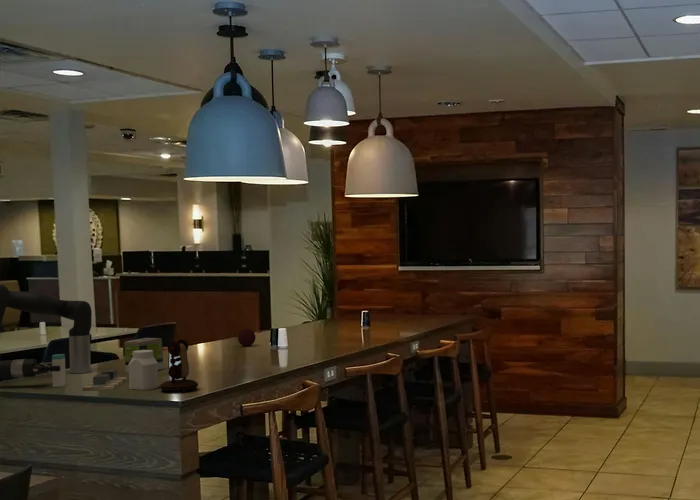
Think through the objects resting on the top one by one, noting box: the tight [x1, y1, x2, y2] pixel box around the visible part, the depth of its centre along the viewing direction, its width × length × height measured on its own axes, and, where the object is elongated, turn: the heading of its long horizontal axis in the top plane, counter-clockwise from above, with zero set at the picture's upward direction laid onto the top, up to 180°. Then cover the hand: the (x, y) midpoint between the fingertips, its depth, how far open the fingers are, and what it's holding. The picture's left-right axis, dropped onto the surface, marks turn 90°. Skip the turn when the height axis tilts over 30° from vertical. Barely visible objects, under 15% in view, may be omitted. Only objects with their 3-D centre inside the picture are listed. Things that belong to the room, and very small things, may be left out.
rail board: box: [82, 376, 128, 392], centre depth 365 cm, size 26×12×1 cm, turn 1°
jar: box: [128, 350, 159, 391], centre depth 355 cm, size 12×10×15 cm
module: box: [51, 353, 67, 388], centre depth 366 cm, size 4×4×13 cm
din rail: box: [92, 368, 120, 387], centre depth 365 cm, size 25×5×4 cm, turn 1°
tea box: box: [123, 337, 164, 374], centre depth 403 cm, size 15×10×15 cm
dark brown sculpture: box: [159, 338, 199, 393], centre depth 346 cm, size 15×15×20 cm
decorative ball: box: [237, 328, 257, 347], centre depth 491 cm, size 10×10×10 cm
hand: (63, 367), depth 366 cm, fingers open, 8 cm apart
